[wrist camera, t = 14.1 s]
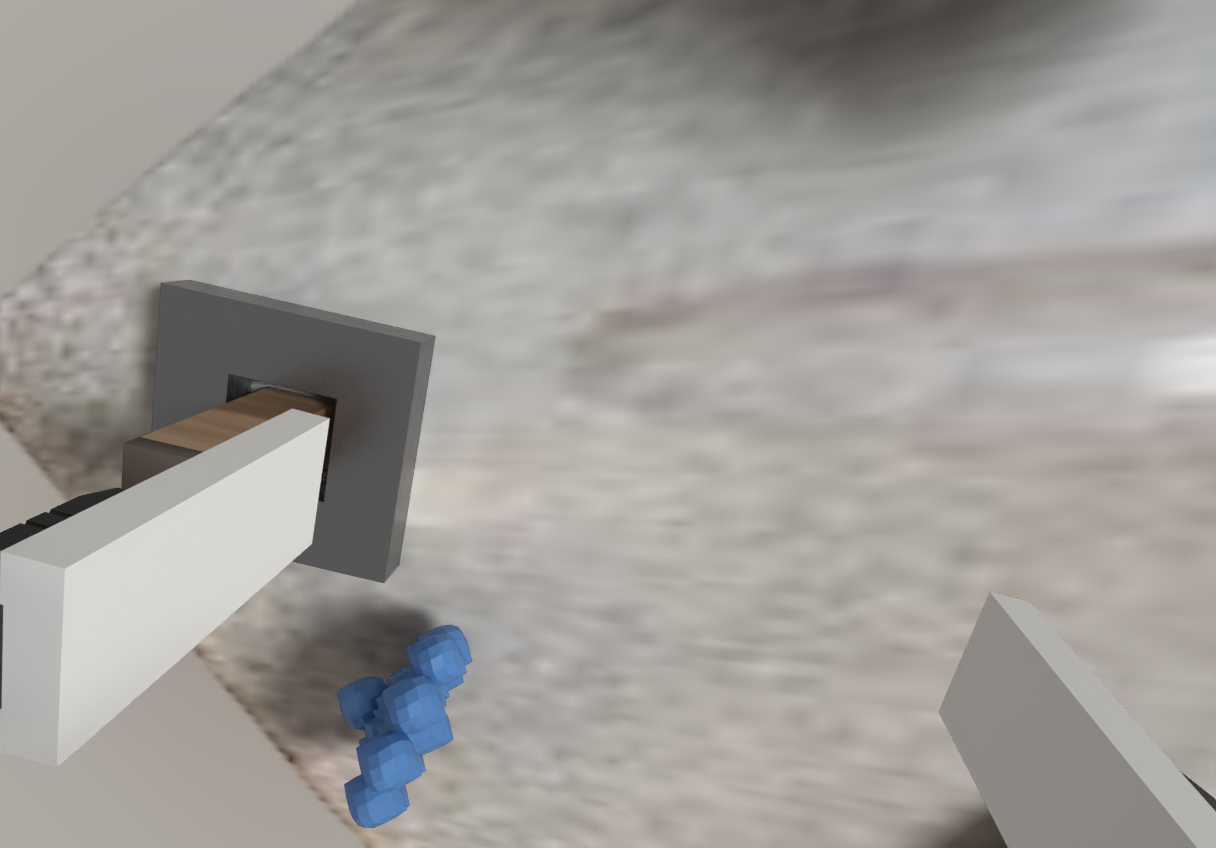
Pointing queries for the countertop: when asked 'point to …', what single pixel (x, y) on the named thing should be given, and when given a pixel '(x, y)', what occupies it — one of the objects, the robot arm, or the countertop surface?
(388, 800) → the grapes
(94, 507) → the robot arm
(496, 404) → the countertop surface
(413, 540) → the countertop surface
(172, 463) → the wooden block
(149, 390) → the countertop surface
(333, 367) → the gray square hole plate
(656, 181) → the countertop surface
